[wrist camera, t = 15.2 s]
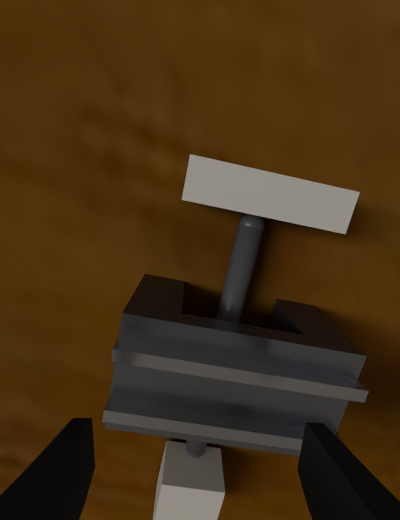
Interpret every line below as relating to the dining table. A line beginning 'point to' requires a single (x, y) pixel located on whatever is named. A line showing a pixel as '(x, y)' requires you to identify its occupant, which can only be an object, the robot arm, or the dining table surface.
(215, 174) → the white ended gray rod
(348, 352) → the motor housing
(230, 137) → the dining table surface
